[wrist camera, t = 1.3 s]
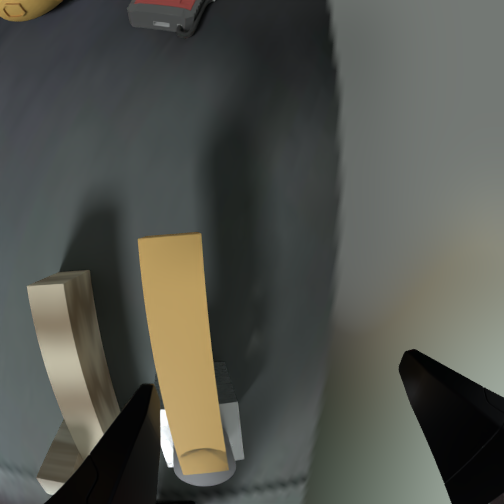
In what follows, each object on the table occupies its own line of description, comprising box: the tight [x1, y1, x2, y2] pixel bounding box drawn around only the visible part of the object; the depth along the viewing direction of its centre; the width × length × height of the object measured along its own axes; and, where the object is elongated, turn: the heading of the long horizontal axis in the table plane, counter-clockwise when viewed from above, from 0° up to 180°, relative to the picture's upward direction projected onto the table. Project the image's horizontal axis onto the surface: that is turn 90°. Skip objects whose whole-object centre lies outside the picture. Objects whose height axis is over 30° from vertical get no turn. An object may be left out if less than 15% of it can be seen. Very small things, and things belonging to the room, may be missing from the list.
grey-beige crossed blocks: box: [27, 270, 120, 495], centre depth 18 cm, size 18×6×10 cm, turn 3°
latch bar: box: [138, 232, 236, 486], centre depth 16 cm, size 16×4×3 cm, turn 3°
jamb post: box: [154, 361, 244, 467], centre depth 22 cm, size 6×6×7 cm
